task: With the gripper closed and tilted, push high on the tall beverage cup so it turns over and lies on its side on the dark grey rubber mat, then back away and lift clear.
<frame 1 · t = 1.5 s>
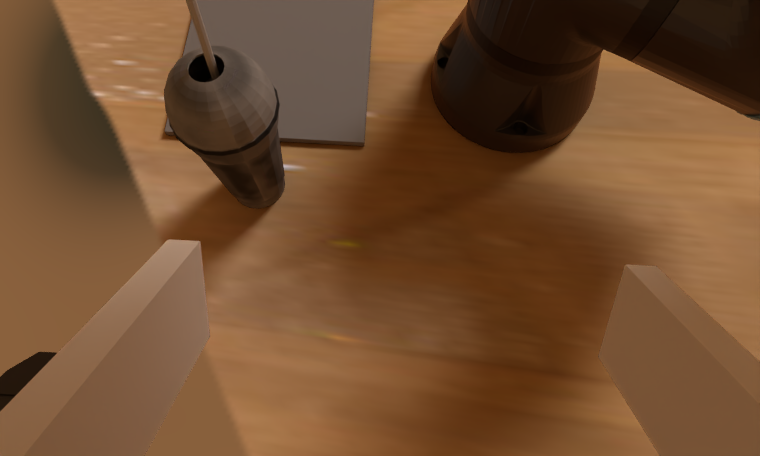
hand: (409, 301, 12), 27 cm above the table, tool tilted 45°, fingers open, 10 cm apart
rubber mat: (283, 21, 50), on the table
beverage cup: (259, 185, 43), on the table
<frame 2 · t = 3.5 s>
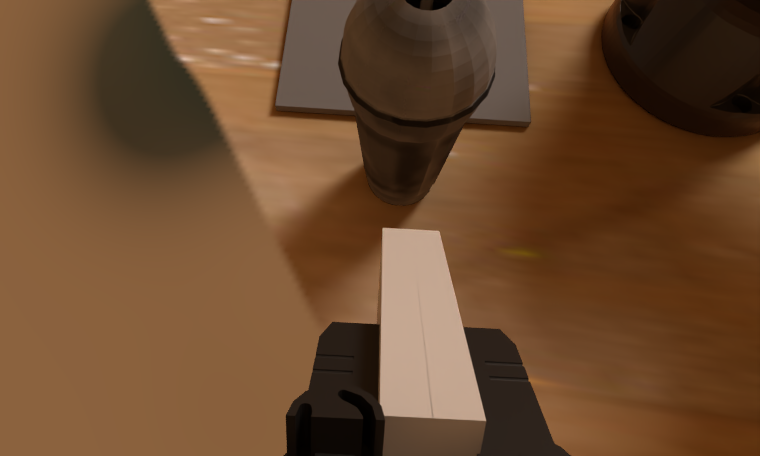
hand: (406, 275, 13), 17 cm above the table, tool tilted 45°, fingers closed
beverage cup: (399, 176, 33), on the table
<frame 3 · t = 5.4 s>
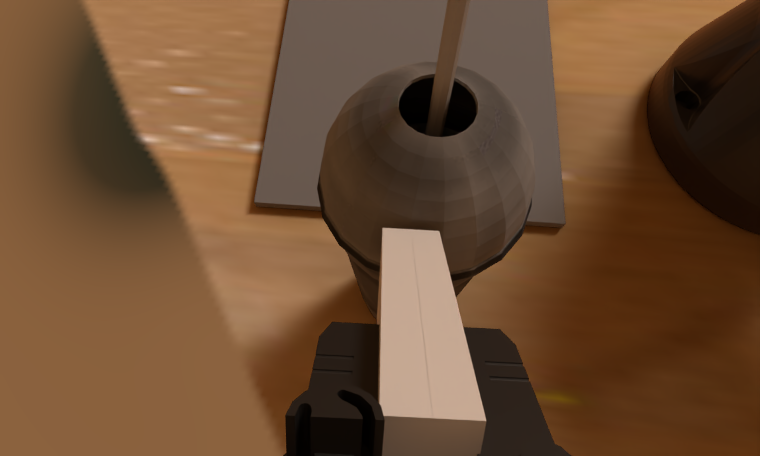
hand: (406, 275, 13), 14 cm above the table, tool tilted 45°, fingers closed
rubber mat: (417, 31, 34), on the table
beverage cup: (405, 292, 27), on the table, touching gripper
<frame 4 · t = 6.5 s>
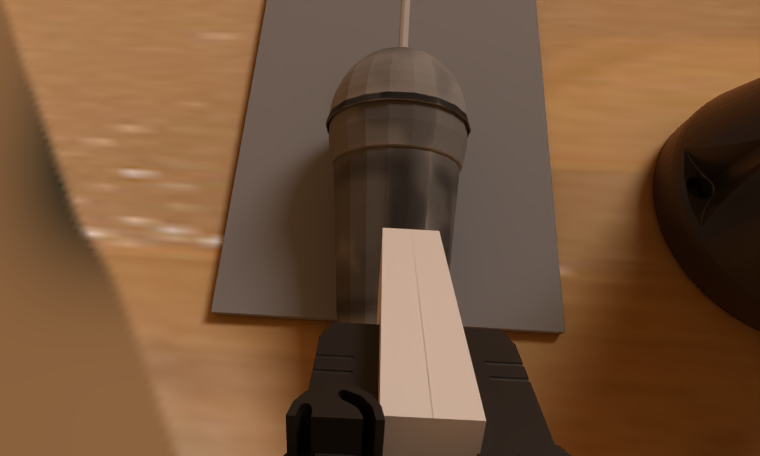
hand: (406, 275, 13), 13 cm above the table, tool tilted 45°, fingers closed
rubber mat: (398, 99, 30), on the table
beverage cup: (388, 371, 22), point 2 cm above the table, touching rubber mat
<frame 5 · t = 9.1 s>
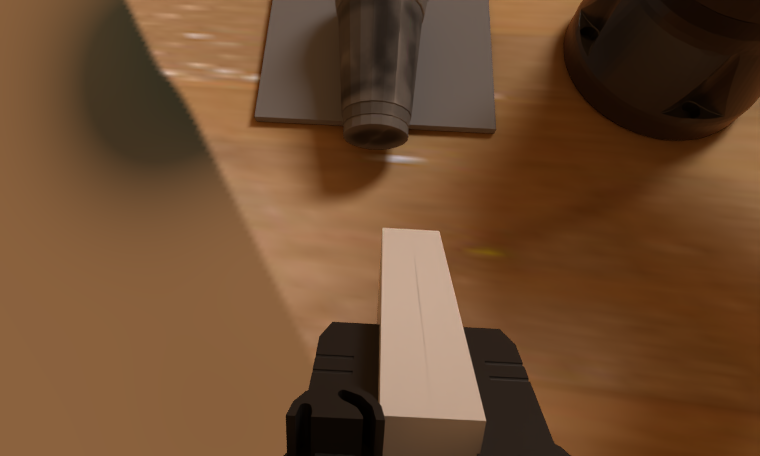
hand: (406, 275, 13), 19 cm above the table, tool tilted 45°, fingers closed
beverage cup: (375, 140, 34), point 2 cm above the table, touching rubber mat
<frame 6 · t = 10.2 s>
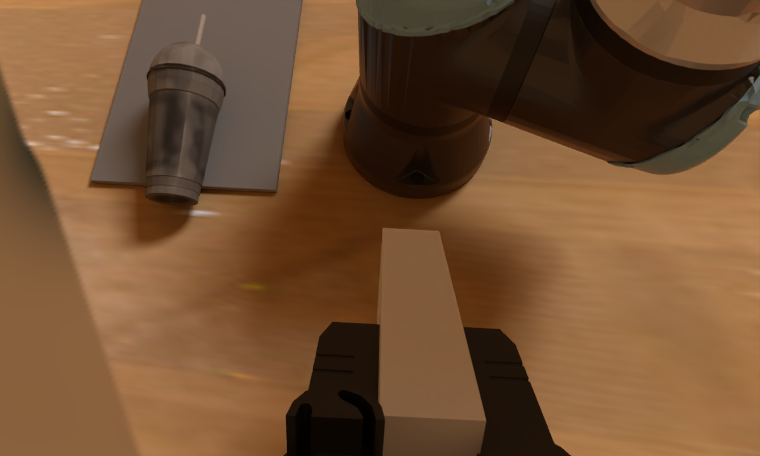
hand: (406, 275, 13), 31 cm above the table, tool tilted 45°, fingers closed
rubber mat: (209, 72, 53), on the table
beverage cup: (171, 201, 45), point 2 cm above the table, touching rubber mat
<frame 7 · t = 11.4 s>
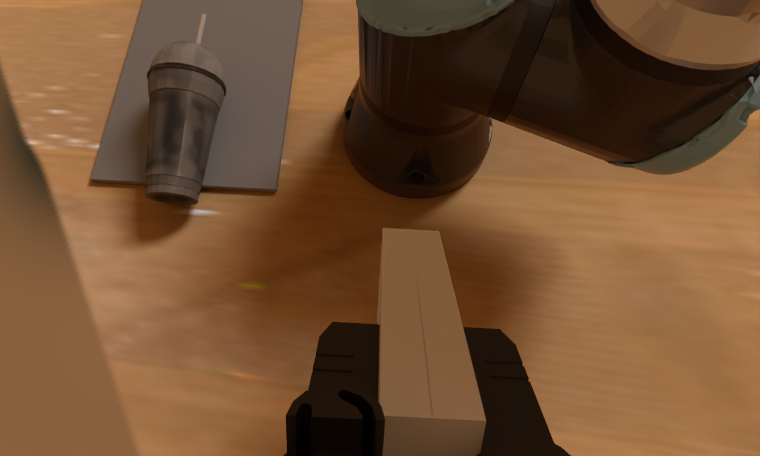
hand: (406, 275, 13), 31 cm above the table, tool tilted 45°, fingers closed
rubber mat: (210, 71, 53), on the table
beverage cup: (171, 200, 45), point 2 cm above the table, touching rubber mat
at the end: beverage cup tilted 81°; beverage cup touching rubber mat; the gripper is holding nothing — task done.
